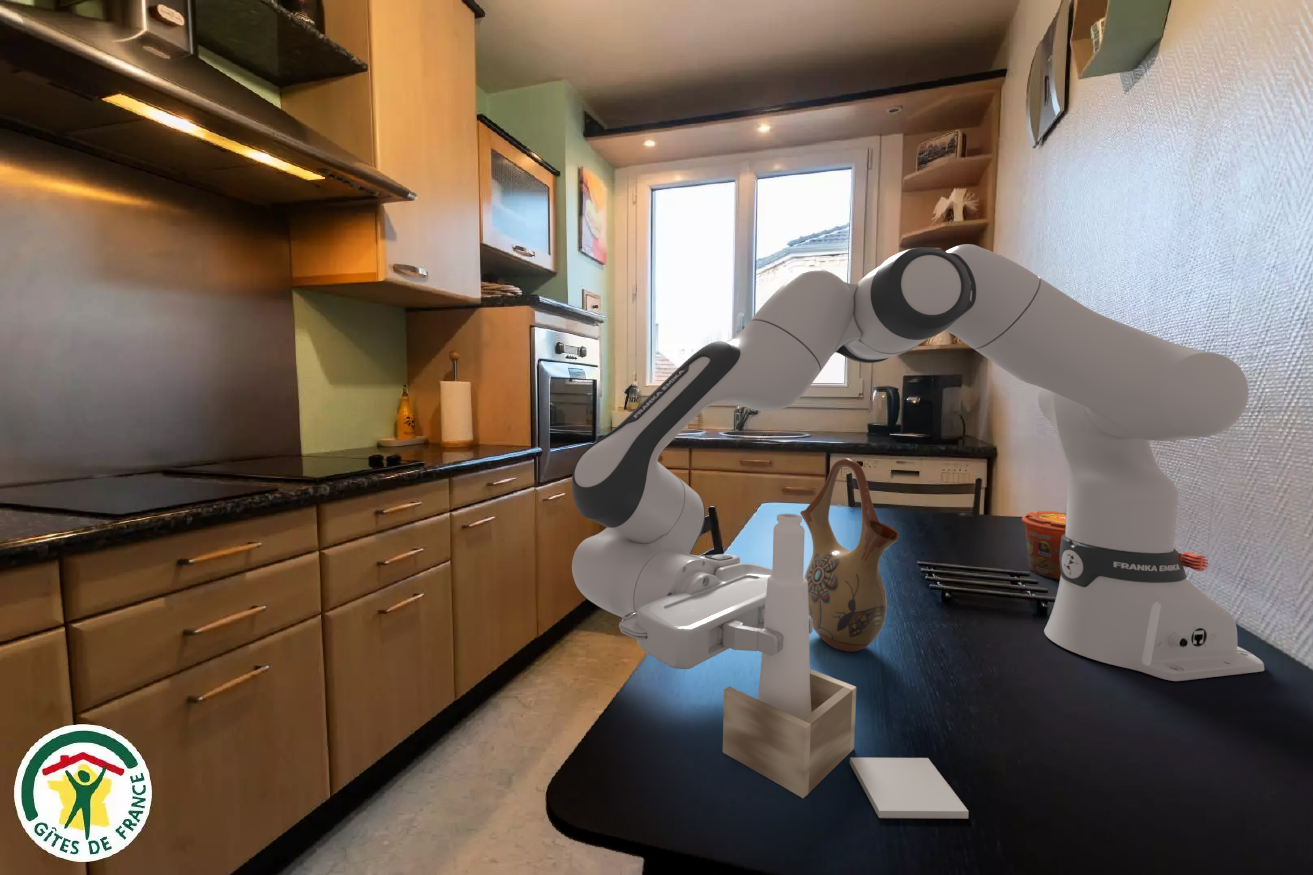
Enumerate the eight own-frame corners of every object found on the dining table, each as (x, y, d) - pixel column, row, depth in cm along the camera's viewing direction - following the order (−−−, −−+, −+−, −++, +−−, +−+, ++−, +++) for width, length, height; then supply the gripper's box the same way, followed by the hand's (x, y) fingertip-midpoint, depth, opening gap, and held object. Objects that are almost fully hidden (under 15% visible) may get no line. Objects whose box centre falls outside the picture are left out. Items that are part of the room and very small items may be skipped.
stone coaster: (927, 764, 50) (928, 757, 50) (968, 818, 43) (968, 811, 43) (849, 763, 50) (850, 757, 50) (879, 817, 43) (879, 810, 43)
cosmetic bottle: (829, 762, 50) (838, 521, 48) (769, 774, 48) (775, 525, 47) (794, 723, 56) (801, 507, 54) (739, 733, 54) (744, 510, 52)
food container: (999, 562, 112) (1002, 510, 112) (1071, 561, 114) (1075, 509, 113) (1066, 590, 96) (1070, 529, 96) (1148, 587, 98) (1153, 528, 98)
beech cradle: (722, 752, 51) (724, 689, 51) (777, 712, 58) (778, 656, 57) (803, 798, 45) (805, 727, 45) (853, 748, 52) (856, 686, 51)
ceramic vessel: (916, 665, 68) (926, 463, 67) (860, 679, 65) (869, 466, 63) (825, 616, 83) (831, 451, 81) (776, 626, 80) (781, 453, 78)
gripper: (609, 591, 53) (725, 636, 43) (737, 550, 67) (846, 577, 57) (608, 655, 53) (724, 714, 43) (736, 601, 68) (844, 636, 58)
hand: (794, 636), depth 51 cm, fingers open, 4 cm apart
